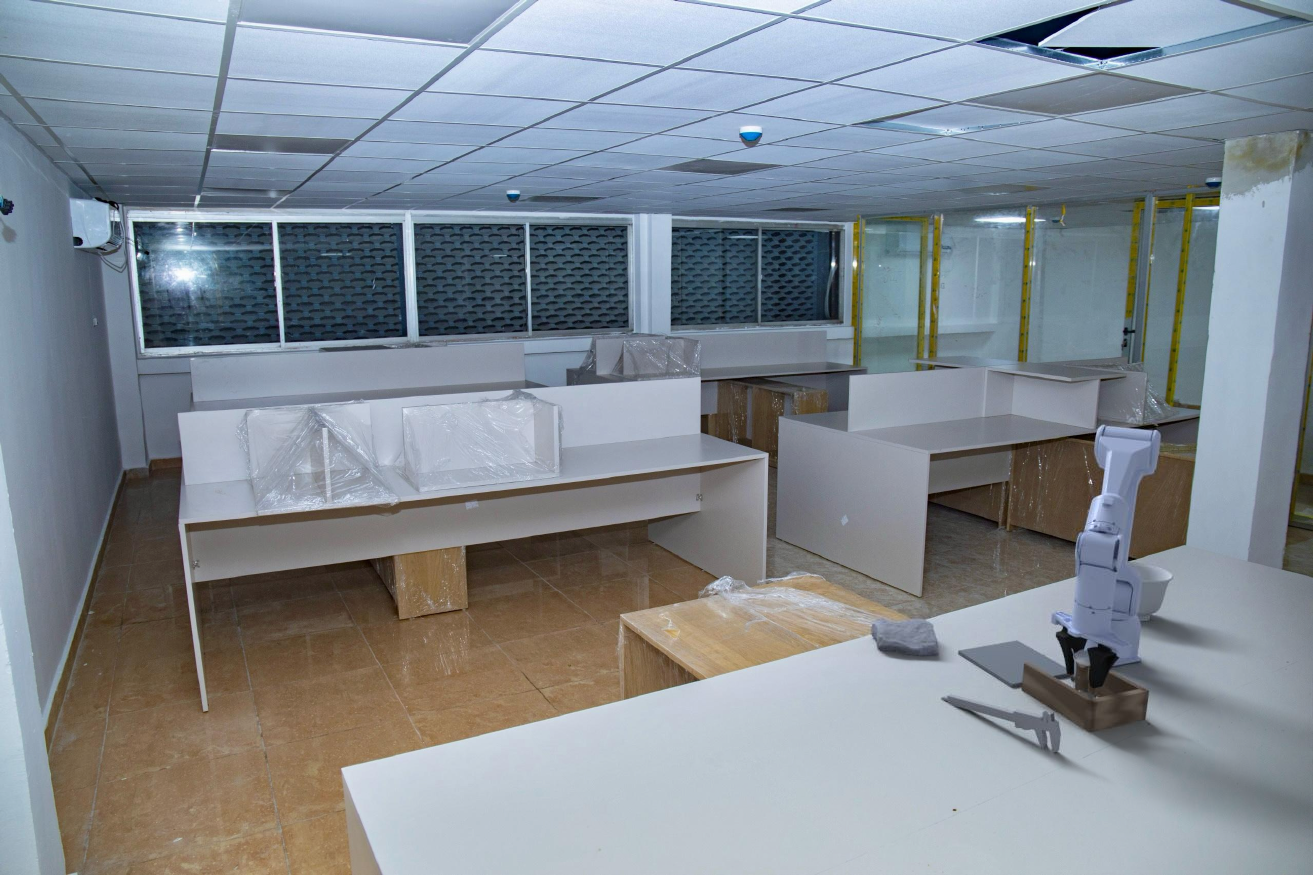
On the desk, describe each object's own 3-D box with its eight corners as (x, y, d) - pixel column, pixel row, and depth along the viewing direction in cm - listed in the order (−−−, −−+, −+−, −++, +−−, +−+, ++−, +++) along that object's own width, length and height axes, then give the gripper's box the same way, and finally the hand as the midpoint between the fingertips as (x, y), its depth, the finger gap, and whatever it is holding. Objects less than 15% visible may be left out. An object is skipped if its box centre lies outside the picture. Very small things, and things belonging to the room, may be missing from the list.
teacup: (1101, 596, 191) (1106, 554, 189) (1175, 616, 180) (1181, 571, 178) (1079, 610, 183) (1084, 566, 181) (1155, 632, 172) (1161, 585, 170)
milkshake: (1058, 697, 146) (1064, 642, 144) (1088, 696, 146) (1094, 641, 144) (1073, 711, 141) (1079, 654, 140) (1104, 709, 142) (1110, 653, 140)
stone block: (941, 666, 161) (930, 634, 171) (943, 645, 159) (932, 614, 169) (876, 664, 163) (869, 633, 172) (878, 644, 161) (870, 613, 170)
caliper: (1059, 753, 130) (1063, 715, 128) (1055, 755, 129) (1059, 717, 128) (944, 698, 146) (947, 664, 145) (940, 700, 145) (943, 666, 144)
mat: (1016, 643, 167) (1017, 640, 167) (1073, 675, 154) (1074, 672, 154) (958, 653, 162) (958, 650, 162) (1011, 687, 149) (1011, 684, 149)
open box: (1074, 679, 152) (1077, 652, 151) (1145, 719, 139) (1149, 690, 138) (1021, 689, 148) (1024, 662, 147) (1088, 731, 135) (1092, 702, 134)
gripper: (1040, 590, 146) (1032, 664, 148) (1111, 623, 132) (1101, 704, 135) (1072, 585, 148) (1064, 658, 151) (1145, 617, 135) (1135, 696, 137)
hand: (1084, 679), depth 143 cm, fingers closed on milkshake, 4 cm apart
